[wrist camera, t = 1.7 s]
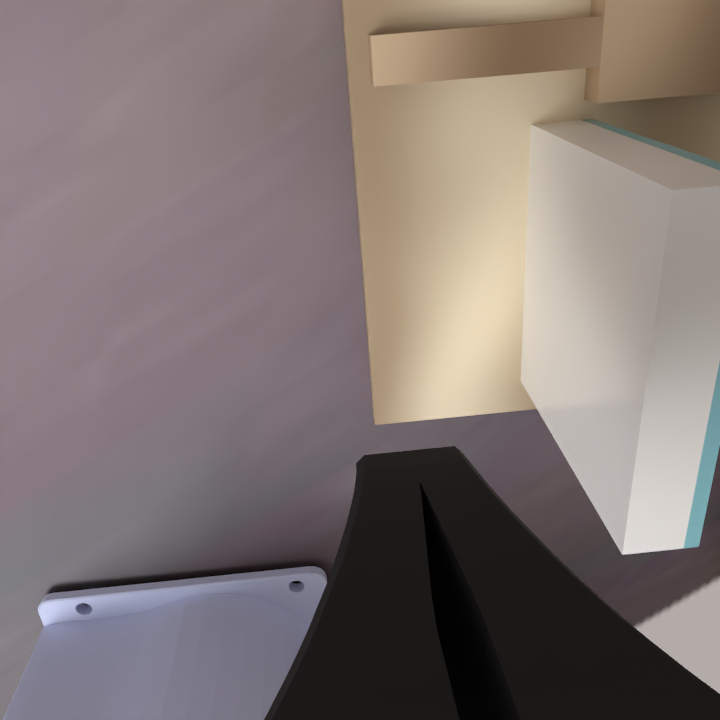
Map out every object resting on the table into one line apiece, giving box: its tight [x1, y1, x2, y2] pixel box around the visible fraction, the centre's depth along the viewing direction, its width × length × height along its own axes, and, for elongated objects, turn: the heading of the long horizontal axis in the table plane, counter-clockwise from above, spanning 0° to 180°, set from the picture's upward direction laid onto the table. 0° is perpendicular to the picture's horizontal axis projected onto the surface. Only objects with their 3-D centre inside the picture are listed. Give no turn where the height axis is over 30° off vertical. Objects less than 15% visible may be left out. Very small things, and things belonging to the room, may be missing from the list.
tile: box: [521, 119, 720, 555], centre depth 14 cm, size 2×7×7 cm, turn 4°
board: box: [341, 0, 720, 425], centre depth 17 cm, size 13×11×1 cm
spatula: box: [368, 0, 720, 103], centre depth 15 cm, size 11×2×1 cm, turn 94°
